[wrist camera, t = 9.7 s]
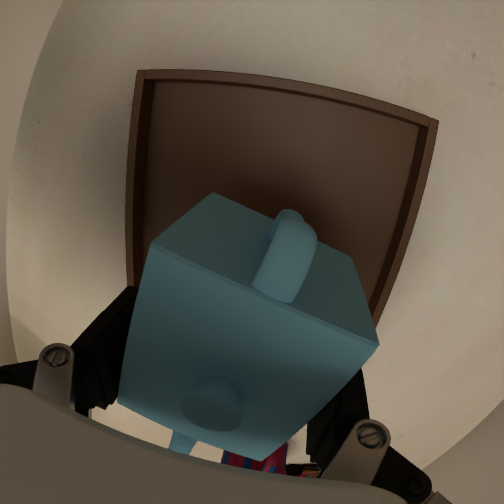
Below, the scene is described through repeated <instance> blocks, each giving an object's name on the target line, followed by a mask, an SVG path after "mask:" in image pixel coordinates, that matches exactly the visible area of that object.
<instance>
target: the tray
mask: <svg viewBox="0 0 504 504" xmlns="http://www.w3.org/2000/svg"><path fill="white" fill-rule="evenodd" d="M438 124H439V121H438V120H436V119H433V118H430V117H428V116H426V115H423V114H420V113H417V112H415V111H412V110H409V109H406V108H403V107H400V106H397V105H394V104H391V103H387V102H384V101H381V100H377V99H374V98H370V97H367V96H363V95H359V94H356V93H352V92H348V91H344V90H340V89H335V88H331V87H326V86H322V85H317V84H312V83H307V82H301V81H296V80H290V79H284V78H277V77H270V76H263V75H255V74H246V73H236V72H224V71H209V70H185V69H149V70H137V75H136V81H135V88H134V96H133V104H132V112H131V121H130V131H129V143H128V157H127V174H126V204H125V242H126V272H127V286H129V285H130V286H134V287H138V288H139V286H140V282H141V278H142V274H143V270H144V266H145V263H146V259H147V255H148V252H149V248H150V244H151V242H152V241H153V240H154V239H156V238H157V237H158V236H159V235H160V234H161V233H163V232H164V231H165V230H166V229H167V228H169V227H170V226H171V225H172V224H173V223H175V222H176V221H177V220H178V219H179V218H181V217H182V216H183V215H184V214H186V213H187V212H188V211H189V210H191V209H192V208H193V207H194V206H196V205H197V204H198V203H199V202H201V201H202V200H203V199H204V198H206V197H207V196H208V195H209V194H211V193H212V192H214V193H216V194H219V195H221V196H223V197H225V198H228V199H230V200H232V201H234V202H236V203H239V204H241V205H243V206H245V207H247V208H250V209H252V210H254V211H256V212H258V213H260V214H262V215H265V216H267V217H269V218H271V219H273V220H275V219H276V217H277V216H278V214H279V213H280V212H281V211H282V210H284V209H292V210H295V211H296V212H298V213H299V214H300V215H301V216H302V217H303V219H304V222H306V223H307V224H309V225H310V226H311V227H312V228H313V230H314V231H315V233H316V235H317V241H319V242H321V243H324V244H326V245H328V246H330V247H332V248H334V249H336V250H338V251H340V252H342V253H344V254H346V255H348V256H350V257H352V260H353V262H354V265H355V268H356V271H357V274H358V277H359V280H360V283H361V286H362V289H363V292H364V295H365V298H366V301H367V304H368V307H369V310H370V314H371V317H372V320H373V323H374V327H375V328H376V326H377V324H378V322H379V319H380V317H381V315H382V312H383V310H384V308H385V305H386V303H387V300H388V298H389V295H390V293H391V290H392V288H393V285H394V282H395V280H396V277H397V274H398V272H399V269H400V266H401V263H402V261H403V258H404V255H405V252H406V249H407V246H408V243H409V240H410V237H411V234H412V231H413V227H414V224H415V221H416V218H417V214H418V211H419V207H420V204H421V200H422V196H423V193H424V189H425V185H426V181H427V177H428V173H429V168H430V164H431V160H432V155H433V150H434V145H435V140H436V135H437V130H438Z"/></svg>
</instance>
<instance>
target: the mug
mask: <svg viewBox="0 0 504 504" xmlns="http://www.w3.org/2000/svg"><path fill="white" fill-rule="evenodd" d="M286 456H287V442H285V443H284V444H283V445H282V446H280V447H279V448H278V449H277V450H275V451H274V452H273V453H272V454H270V455H269V456H268V457H267V458H265V459H264V460H262V461H258V460H255V459H252V458H248V457H245V456H242V455H239V454H236V453H232V452H229V451H226V450H224V452H223V456H222V460H221V464H226V465H230V466H235V467H240V468H245V469H250V470H256V471H262V472H268V473H275V474H282V475H285V466H286Z"/></svg>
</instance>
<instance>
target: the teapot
mask: <svg viewBox="0 0 504 504" xmlns="http://www.w3.org/2000/svg"><path fill="white" fill-rule="evenodd" d="M379 345H380V344H379V340H378V337H377V333H376V330H375V327H374V323H373V320H372V317H371V314H370V310H369V307H368V304H367V301H366V298H365V295H364V292H363V289H362V286H361V283H360V280H359V277H358V274H357V271H356V268H355V265H354V262H353V260H352V257H350V256H348V255H346V254H344V253H342V252H340V251H338V250H336V249H334V248H332V247H330V246H328V245H326V244H324V243H321V242H319V241H317V235H316V233H315V231H314V230H313V228H312V227H311V226H310V225H309V224H307V223H306V222H304V219H303V217H302V216H301V215H300V214H299V213H298V212H296V211H295V210H292V209H284V210H282V211H281V212H280V213H279V214H278V216H277V217H276V219H275V220H273V219H271V218H269V217H267V216H265V215H262V214H260V213H258V212H256V211H254V210H252V209H250V208H247V207H245V206H243V205H241V204H239V203H236V202H234V201H232V200H230V199H228V198H225V197H223V196H221V195H219V194H216V193H214V192H212V193H211V194H209V195H208V196H207V197H206V198H204V199H203V200H202V201H201V202H199V203H198V204H197V205H196V206H194V207H193V208H192V209H191V210H189V211H188V212H187V213H186V214H184V215H183V216H182V217H181V218H179V219H178V220H177V221H176V222H175V223H173V224H172V225H171V226H170V227H169V228H167V229H166V230H165V231H164V232H163V233H161V234H160V235H159V236H158V237H157V238H156V239H154V240H153V241H152V242H151V244H150V248H149V252H148V255H147V259H146V263H145V266H144V270H143V274H142V278H141V282H140V286H139V290H138V294H137V298H136V302H135V306H134V310H133V315H132V319H131V324H130V328H129V333H128V338H127V343H126V348H125V353H124V359H123V365H122V371H121V377H120V384H119V390H118V397H117V403H119V404H121V405H123V406H125V407H127V408H129V409H130V410H132V411H134V412H136V413H138V414H140V415H142V416H144V417H146V418H148V419H150V420H152V421H155V422H157V423H159V424H161V425H163V426H165V427H167V428H170V429H172V430H173V434H172V439H171V442H170V445H169V448H168V449H170V450H173V451H176V452H180V453H183V454H186V455H189V453H190V452H191V450H192V448H193V447H194V445H195V444H196V442H197V441H198V440H199V441H201V442H204V443H207V444H209V445H212V446H215V447H218V448H220V449H223V450H226V451H229V452H232V453H236V454H239V455H242V456H245V457H248V458H252V459H255V460H258V461H262V460H264V459H265V458H267V457H268V456H269V455H270V454H272V453H273V452H274V451H275V450H277V449H278V448H279V447H280V446H282V445H283V444H284V443H285V442H286V441H287V440H289V439H290V438H291V437H292V436H293V435H294V434H296V433H297V432H298V431H299V430H300V429H301V428H302V427H303V426H304V425H306V424H307V423H308V422H309V421H310V420H311V419H312V418H313V417H314V416H315V415H316V414H317V413H318V412H319V411H320V410H321V409H322V408H323V407H324V406H325V405H326V404H327V403H328V402H329V401H330V400H331V399H332V398H333V397H334V396H335V395H336V394H337V393H338V392H339V391H340V390H341V389H342V388H343V387H344V386H345V385H346V384H347V383H348V381H349V380H350V379H351V378H352V377H353V376H354V375H355V374H356V373H357V372H358V370H359V369H360V368H361V367H362V366H363V365H364V363H365V362H366V361H367V360H368V359H369V357H370V356H371V355H372V354H373V353H374V351H375V350H376V348H377V347H378V346H379Z"/></svg>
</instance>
